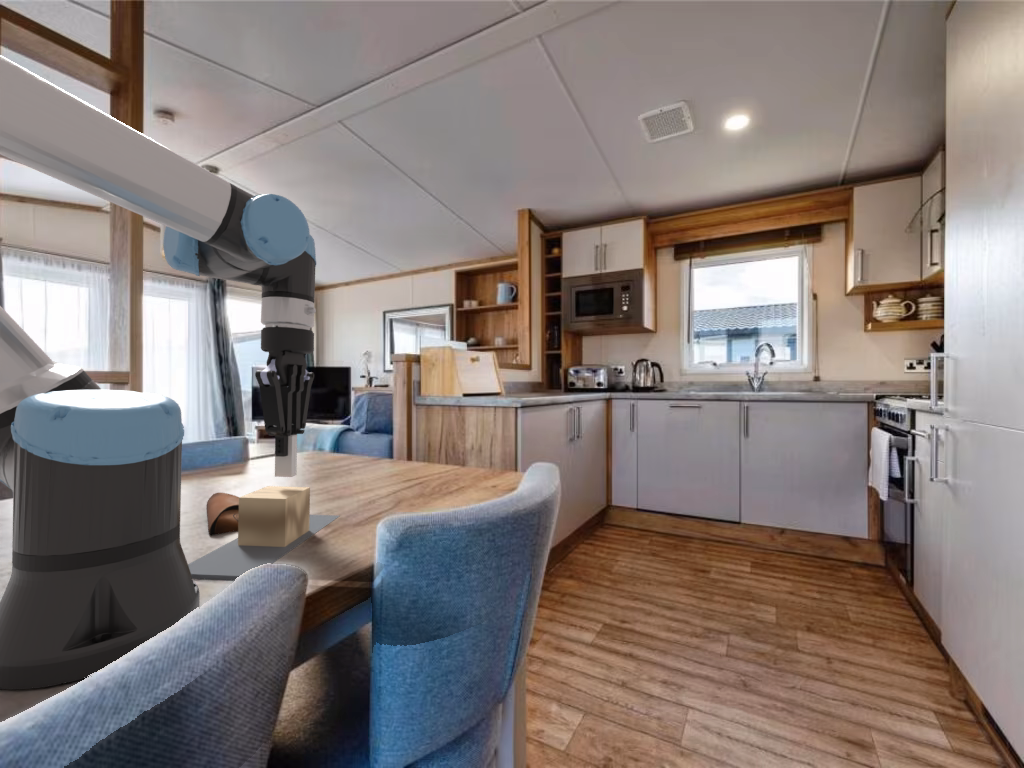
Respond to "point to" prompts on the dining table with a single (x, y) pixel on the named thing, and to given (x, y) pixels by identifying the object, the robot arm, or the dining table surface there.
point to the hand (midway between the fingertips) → (285, 475)
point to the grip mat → (248, 555)
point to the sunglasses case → (222, 513)
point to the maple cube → (273, 516)
